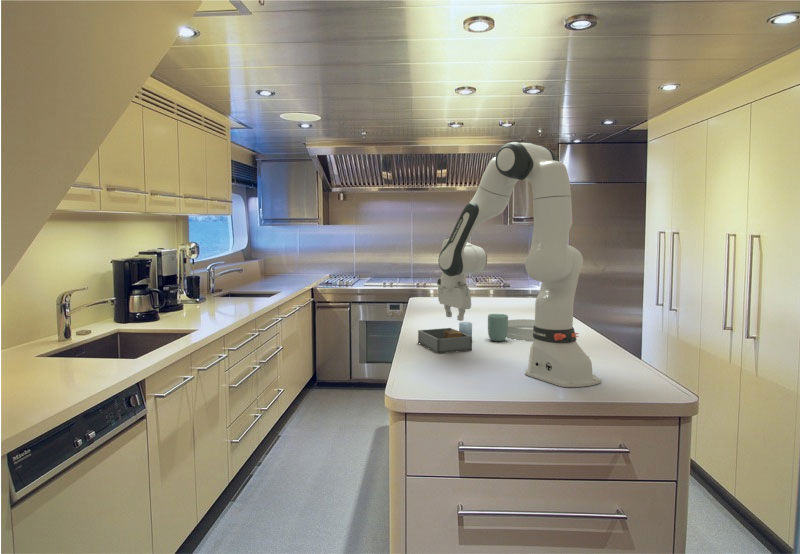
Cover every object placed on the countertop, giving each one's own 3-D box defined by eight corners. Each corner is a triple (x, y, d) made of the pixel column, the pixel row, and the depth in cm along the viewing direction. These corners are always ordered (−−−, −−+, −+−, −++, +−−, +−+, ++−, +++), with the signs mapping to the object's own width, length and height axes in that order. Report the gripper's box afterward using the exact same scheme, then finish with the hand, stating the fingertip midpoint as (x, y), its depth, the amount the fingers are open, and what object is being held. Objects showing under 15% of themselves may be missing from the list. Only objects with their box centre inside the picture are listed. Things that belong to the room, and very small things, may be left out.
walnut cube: (462, 346, 193) (462, 332, 192) (449, 347, 191) (449, 333, 190) (455, 343, 197) (456, 330, 197) (443, 344, 195) (443, 331, 195)
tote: (471, 350, 189) (472, 336, 189) (437, 353, 185) (437, 339, 184) (450, 340, 206) (450, 327, 205) (418, 343, 201) (418, 330, 200)
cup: (506, 338, 209) (507, 313, 208) (508, 342, 201) (509, 317, 200) (486, 338, 210) (487, 313, 209) (488, 342, 202) (488, 316, 201)
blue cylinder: (474, 341, 203) (474, 323, 203) (462, 342, 202) (462, 324, 201) (468, 339, 208) (468, 321, 207) (456, 340, 206) (456, 322, 206)
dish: (563, 342, 204) (563, 329, 203) (506, 341, 204) (506, 329, 204) (548, 330, 226) (548, 319, 225) (497, 330, 226) (497, 319, 226)
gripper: (475, 282, 183) (475, 322, 184) (449, 278, 202) (450, 314, 203) (459, 283, 181) (459, 323, 182) (434, 279, 200) (435, 315, 201)
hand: (454, 318), depth 193 cm, fingers open, 8 cm apart
